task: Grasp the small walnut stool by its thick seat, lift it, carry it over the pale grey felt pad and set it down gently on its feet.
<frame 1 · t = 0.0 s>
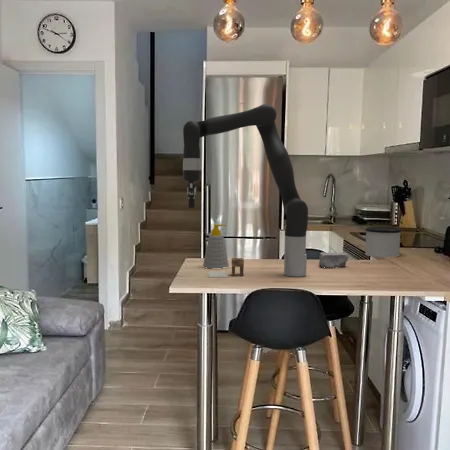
hand: (191, 207, 203), 29 cm above the counter, fingers open, 8 cm apart
soap bottle: (215, 267, 227), on the counter
decorative stone: (331, 267, 230), on the counter
stool: (237, 274, 207), on the counter
container: (382, 255, 269), on the counter
felt pad: (218, 274, 207), on the counter
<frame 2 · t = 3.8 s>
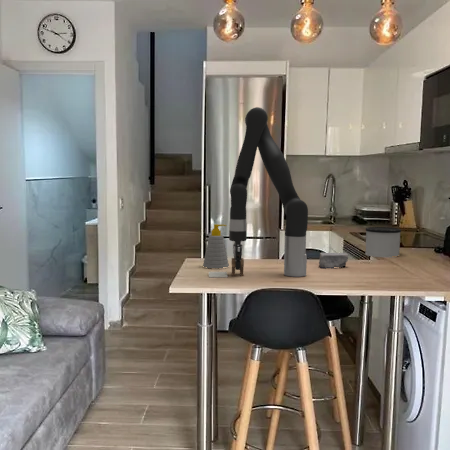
hand: (237, 268, 207), 3 cm above the counter, fingers closed on stool, 5 cm apart
stool: (237, 274, 207), on the counter, touching gripper
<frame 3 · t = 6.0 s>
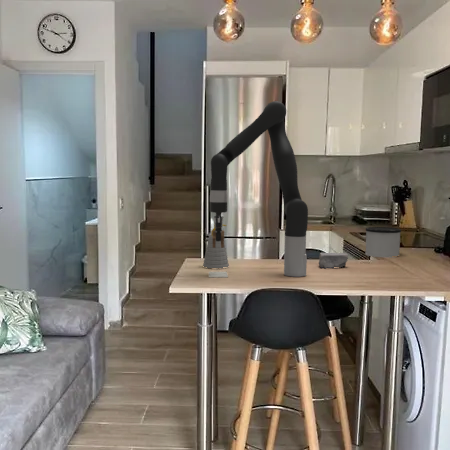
hand: (218, 240, 205), 15 cm above the counter, fingers closed on stool, 5 cm apart
stool: (218, 247, 206), point 12 cm above the counter, touching gripper
when the fingers open (4 cm above the counter, at t = 8.7 s): stool drops 1 cm, resting on felt pad.
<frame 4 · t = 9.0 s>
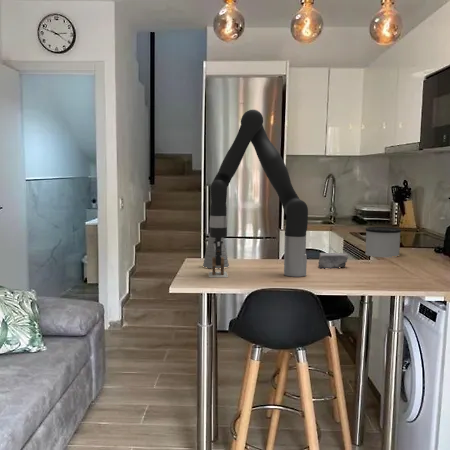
hand: (218, 263, 206), 5 cm above the counter, fingers open, 8 cm apart
stool: (217, 274, 207), resting on felt pad
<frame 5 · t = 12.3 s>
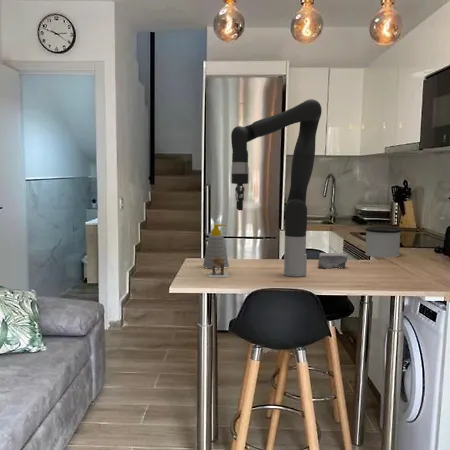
hand: (239, 209, 210), 28 cm above the counter, fingers open, 8 cm apart
at the end: stool inside the target area on the felt pad (0.0 cm from its centre), point 0.4 cm above the felt pad's base; stool tilted 0°; the gripper is holding nothing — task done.
